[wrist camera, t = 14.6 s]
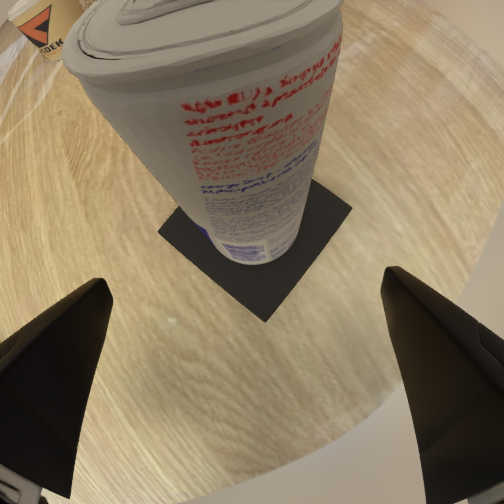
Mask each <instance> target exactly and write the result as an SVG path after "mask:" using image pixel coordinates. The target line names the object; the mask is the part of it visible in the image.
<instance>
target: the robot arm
mask: <svg viewBox="0 0 504 504" xmlns="http://www.w3.org/2000/svg"><path fill="white" fill-rule="evenodd" d="M381 298H382V302H383V307H384V311H385V316H386V320H387V325H388V330H389V335H390V338H391V342H392V345H393V348H394V352H395V355H396V358H397V362H398V365H399V369H400V372H401V376H402V379H403V383H404V387H405V391H406V395H407V398H408V403H409V407H410V411H411V415H412V420H413V424H414V429H415V434H416V439H417V444H418V449H419V454H420V461H421V467H422V473H423V480H424V488H425V495H426V504H454V503H456V502H459V501H462V500H464V499H466V498H467V499H468V504H504V340H503V339H502V338H500V337H499V336H497V335H496V334H495V333H493V332H492V331H491V330H489V329H488V328H487V327H485V326H484V325H483V324H481V323H478V321H477V320H476V319H475V318H473V317H472V316H470V315H469V314H468V313H466V312H465V311H464V310H462V309H461V308H460V307H458V306H457V305H455V304H454V303H453V302H451V301H450V300H448V299H447V298H445V297H444V296H443V295H441V294H440V293H438V292H437V291H435V290H434V289H432V288H431V287H430V286H428V285H427V284H425V283H424V282H422V281H421V280H419V279H418V278H416V277H415V276H413V275H412V274H410V273H409V272H407V271H405V270H404V269H402V268H401V267H399V266H390V267H387V268H386V269H385V272H384V276H383V281H382V285H381ZM112 306H113V296H112V294H111V292H110V289H109V287H108V285H107V282H106V280H105V279H103V278H93V279H91V280H90V281H88V282H87V283H85V284H83V285H82V286H80V287H79V288H77V289H76V290H75V291H73V292H72V293H70V294H69V295H67V296H66V297H64V298H63V299H61V300H60V301H58V302H57V303H55V304H54V305H53V306H51V307H50V308H48V309H47V310H46V311H44V312H43V313H41V314H40V315H38V316H37V317H36V318H34V319H33V320H32V321H30V322H29V323H27V324H26V325H25V326H23V327H22V328H21V329H20V330H19V331H17V332H15V333H14V334H13V335H11V336H10V337H9V338H7V339H6V340H4V341H3V342H2V343H0V504H48V502H47V500H46V498H45V497H44V496H42V495H41V491H42V487H43V488H45V489H47V490H49V491H51V492H54V493H56V494H58V495H60V496H63V497H65V498H67V499H70V495H71V487H72V480H73V472H74V466H75V460H76V454H77V447H78V442H79V437H80V432H81V427H82V423H83V418H84V414H85V410H86V405H87V401H88V397H89V393H90V390H91V386H92V382H93V378H94V375H95V371H96V368H97V364H98V361H99V358H100V354H101V351H102V348H103V344H104V341H105V337H106V332H107V328H108V323H109V319H110V315H111V310H112Z"/></svg>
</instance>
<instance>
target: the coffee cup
mask: <svg viewBox="0 0 504 504" xmlns="http://www.w3.org/2000/svg"><path fill="white" fill-rule="evenodd" d="M83 13H84V11H83V9H82V7H81V4H80V2H79V0H19V1H18V2H17V3H16V4H15V5H14V6H13V7H12V8H11V10H10V11H9V12H8V16H9V17H8V19H9V20H10V21H12V22H13V23H14V24H15V26H16V27H17V28H18V29H19V30H20V31H21V32H22V33H23V34H24V35H25V36H26V37H27V38H28V39H29V40H30V41H31V42H32V43H33V44H34V45H35V47H36V48H37V49H38V50H39V51H40V52H41V53H42V54H43V55H44V56H45V57H46V58H47V59H49V60H50V61H56V60H59V59H61V58H62V54H61V52H62V47H63V43H64V40H65V38H66V36H67V34H68V33H69V31H70V29H71V27H72V26H73V25H74V23H75V22H76V21H77V20H78V19H79V18H80V17H81V15H82V14H83Z"/></svg>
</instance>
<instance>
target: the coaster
mask: <svg viewBox="0 0 504 504" xmlns="http://www.w3.org/2000/svg"><path fill="white" fill-rule="evenodd" d="M351 210H352V207H351V206H350V205H348V204H347V203H345V202H344V201H343V200H341V199H340V198H339V197H337V196H336V195H335V194H333V193H332V192H330V191H329V190H328V189H326V188H325V187H323V186H322V185H321V184H319V183H318V182H316V181H315V180H313V179H311V183H310V187H309V191H308V195H307V199H306V203H305V207H304V211H303V215H302V219H301V223H300V226H299V231H298V234H297V236H296V239H295V240H294V242H293V244H292V245H291V246H290V248H289V249H288V250H287V251H286V252H285V253H283V254H282V255H281V256H280V257H278V258H276V259H274V260H272V261H270V262H267V263H264V264H257V265H247V264H241V263H238V262H235V261H233V260H230V259H229V258H227V257H226V256H224V255H223V254H222V253H221V252H220V251H219V250H218V249H217V248H216V247H215V246H214V245H213V244H212V243H211V241H210V240H209V239H208V238H207V237H206V236H205V235H204V234H203V232H202V231H201V230H200V229H199V228H198V227H197V226H196V224H195V223H194V222H193V221H192V220H191V219H190V218H189V216H188V215H187V214H186V213H185V212H184V211H183V210H182V208H181V207H180V206H179V207H178V208H177V209H176V210H175V211H174V212H173V214H172V215H171V216H170V217H169V218H168V220H167V221H166V222H165V223H164V224H163V226H162V227H161V228H160V229H159V230H158V233H159V234H160V235H161V236H162V237H163V238H165V239H166V240H167V241H168V242H169V243H170V244H171V245H172V246H174V247H175V248H176V249H177V250H178V251H179V252H181V253H182V254H183V255H184V256H185V257H186V258H187V259H189V260H190V261H191V262H192V263H193V264H194V265H196V266H197V267H198V268H199V269H200V270H201V271H203V272H204V273H205V274H206V275H207V276H209V277H210V278H211V279H212V280H213V281H215V282H216V283H217V284H218V285H219V286H221V287H222V288H223V289H224V290H225V291H227V292H228V293H229V294H230V295H231V296H233V297H234V298H235V299H236V300H238V301H239V302H240V303H241V304H242V305H244V306H245V307H246V308H247V309H249V310H250V311H251V312H252V313H254V314H255V315H256V316H257V317H259V318H260V319H261V320H262V321H264V322H266V321H267V320H268V319H269V318H270V317H271V315H272V314H273V313H274V312H275V310H276V309H277V308H278V307H279V305H280V304H281V303H282V302H283V300H284V299H285V298H286V297H287V295H288V294H289V293H290V291H291V290H292V289H293V288H294V286H295V285H296V284H297V282H298V281H299V280H300V279H301V277H302V276H303V275H304V273H305V272H306V271H307V270H308V268H309V267H310V266H311V264H312V263H313V262H314V260H315V259H316V258H317V256H318V255H319V254H320V252H321V251H322V250H323V248H324V247H325V246H326V244H327V243H328V242H329V240H330V239H331V237H332V236H333V235H334V233H335V232H336V231H337V229H338V228H339V227H340V225H341V224H342V222H343V221H344V220H345V218H346V217H347V215H348V214H349V213H350V211H351Z"/></svg>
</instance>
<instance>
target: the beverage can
mask: <svg viewBox="0 0 504 504" xmlns="http://www.w3.org/2000/svg"><path fill="white" fill-rule="evenodd" d="M342 2H343V0H97V1H96V2H95V3H93V4H92V5H91V6H90V7H89V8H88V9H87V10H86V11H85V12H84V13H83V14H82V15H81V17H80V18H79V19H78V20H77V21H76V22H75V23H74V25H73V26H72V27H71V29H70V31H69V33H68V34H67V36H66V38H65V40H64V43H63V47H62V52H61V54H62V59H63V63H64V65H65V67H66V68H67V69H68V71H69V72H70V73H71V74H73V75H74V76H76V77H77V78H78V79H79V81H80V83H81V85H82V87H83V89H84V90H85V92H86V94H87V95H88V97H89V98H90V100H91V101H92V102H93V104H94V105H95V106H96V107H97V109H98V110H99V111H100V112H101V113H102V115H103V116H104V117H105V118H106V120H107V121H108V122H109V123H110V124H111V126H112V127H113V128H114V129H115V131H116V132H117V133H118V134H119V135H120V137H121V138H122V139H123V140H124V141H125V143H126V144H127V145H128V146H129V147H130V149H131V150H132V151H133V152H134V153H135V155H136V156H137V157H138V158H139V159H140V160H141V162H142V163H143V164H144V165H145V166H146V168H147V169H148V170H149V171H150V172H151V173H152V175H153V176H154V177H155V178H156V179H157V180H158V182H159V183H160V184H161V185H162V186H163V188H164V189H165V190H166V191H167V192H168V193H169V194H170V196H171V197H172V198H173V199H174V200H175V201H176V203H177V204H178V205H179V206H180V207H181V208H182V210H183V211H184V212H185V213H186V214H187V215H188V216H189V218H190V219H191V220H192V221H193V222H194V223H195V224H196V226H197V227H198V228H199V229H200V230H201V231H202V232H203V234H204V235H205V236H206V237H207V238H208V239H209V240H210V241H211V243H212V244H213V245H214V246H215V247H216V248H217V249H218V250H219V251H220V252H221V253H222V254H223V255H224V256H226V257H227V258H229V259H230V260H233V261H235V262H238V263H241V264H247V265H257V264H264V263H267V262H270V261H272V260H274V259H276V258H278V257H280V256H281V255H282V254H283V253H285V252H286V251H287V250H288V249H289V248H290V246H291V245H292V244H293V242H294V240H295V239H296V236H297V234H298V231H299V226H300V223H301V219H302V215H303V211H304V207H305V203H306V199H307V195H308V191H309V187H310V183H311V179H312V175H313V171H314V167H315V163H316V159H317V154H318V150H319V146H320V142H321V137H322V133H323V128H324V124H325V119H326V115H327V110H328V106H329V101H330V96H331V92H332V87H333V82H334V77H335V72H336V67H337V62H338V57H339V52H340V46H341V41H342V30H343V22H342V15H341V11H340V9H339V8H340V6H341V4H342Z"/></svg>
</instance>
